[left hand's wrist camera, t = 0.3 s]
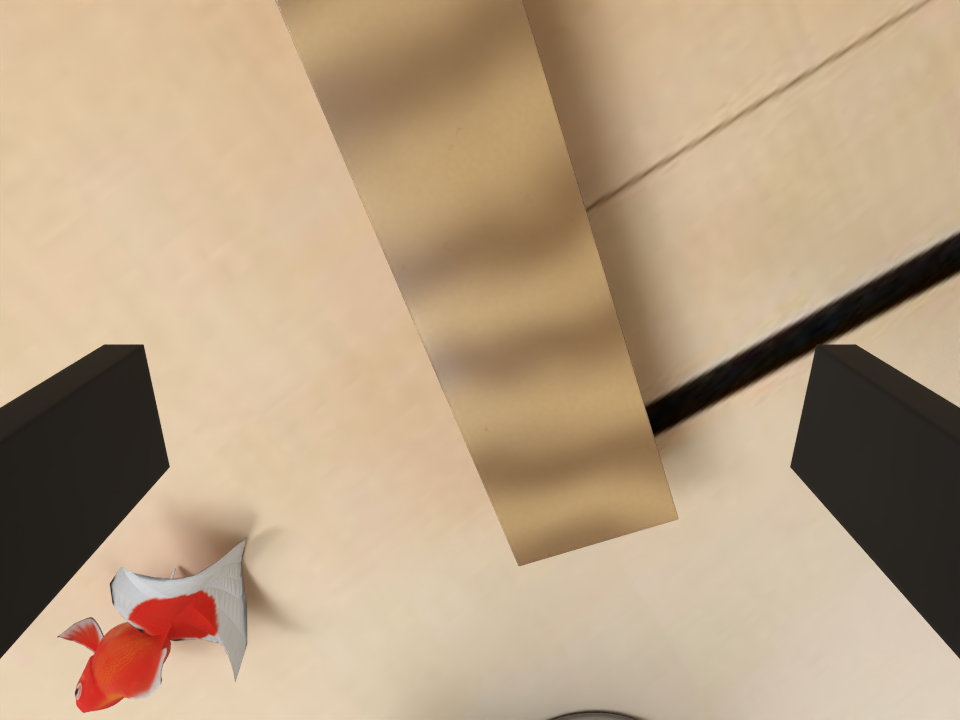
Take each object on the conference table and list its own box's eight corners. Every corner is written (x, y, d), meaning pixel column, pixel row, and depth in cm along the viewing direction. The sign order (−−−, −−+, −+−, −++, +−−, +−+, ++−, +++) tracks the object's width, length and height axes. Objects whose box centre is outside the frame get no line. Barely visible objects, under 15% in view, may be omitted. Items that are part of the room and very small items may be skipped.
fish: (-10, 606, 41) (-23, 736, 34) (200, 465, 45) (230, 555, 38) (103, 670, 48) (112, 790, 41) (277, 543, 52) (315, 632, 44)
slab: (651, 464, 43) (678, 519, 37) (513, 507, 44) (518, 566, 38) (293, -701, 24) (231, -967, 18) (68, -566, 25) (-57, -772, 19)
